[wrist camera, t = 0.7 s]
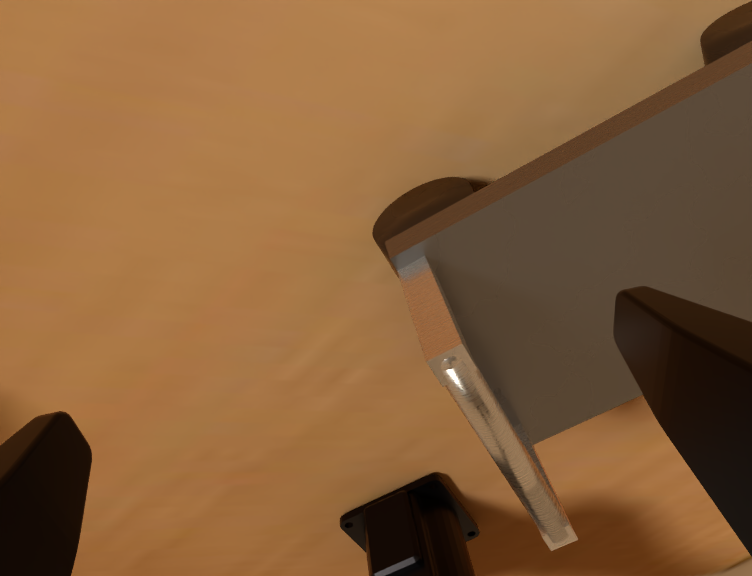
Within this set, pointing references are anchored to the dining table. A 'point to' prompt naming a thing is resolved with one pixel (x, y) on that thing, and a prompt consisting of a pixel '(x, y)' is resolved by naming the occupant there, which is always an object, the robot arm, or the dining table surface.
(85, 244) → the dining table surface
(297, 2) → the dining table surface
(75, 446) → the robot arm
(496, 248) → the platform trolley
